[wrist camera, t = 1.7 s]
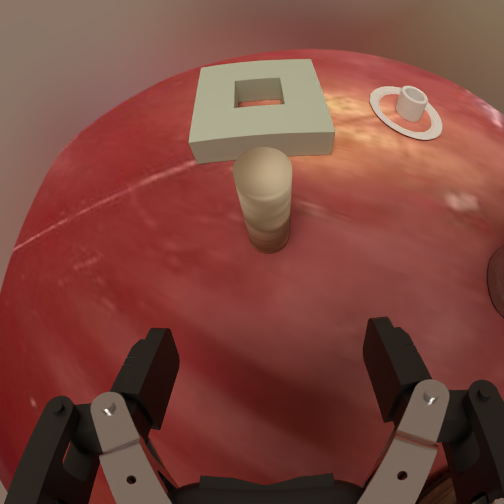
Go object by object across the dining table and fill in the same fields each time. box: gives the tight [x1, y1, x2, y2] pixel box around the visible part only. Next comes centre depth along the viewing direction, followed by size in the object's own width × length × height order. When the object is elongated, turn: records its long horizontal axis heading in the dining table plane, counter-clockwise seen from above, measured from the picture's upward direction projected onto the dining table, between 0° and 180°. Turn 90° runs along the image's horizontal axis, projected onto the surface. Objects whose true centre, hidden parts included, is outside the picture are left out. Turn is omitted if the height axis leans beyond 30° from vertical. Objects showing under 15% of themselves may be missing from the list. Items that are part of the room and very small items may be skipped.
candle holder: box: [370, 86, 442, 140], centre depth 32 cm, size 12×12×4 cm
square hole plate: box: [189, 59, 335, 164], centre depth 34 cm, size 16×16×4 cm
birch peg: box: [233, 147, 292, 254], centre depth 24 cm, size 4×4×11 cm
